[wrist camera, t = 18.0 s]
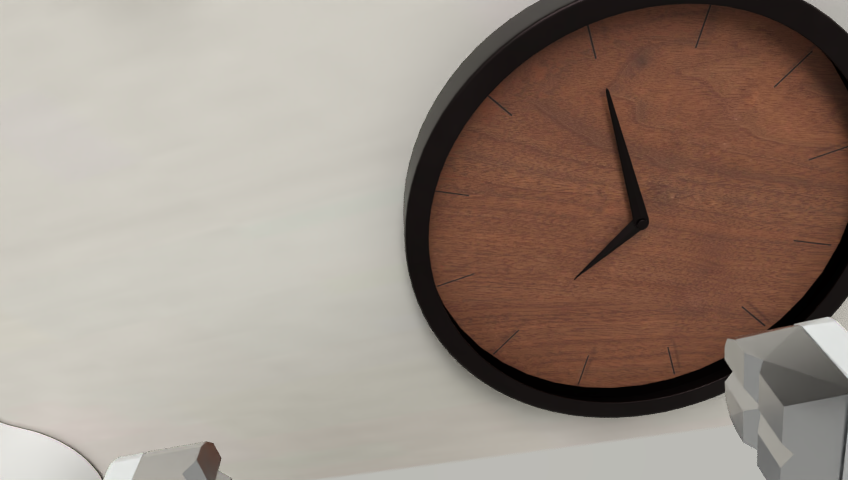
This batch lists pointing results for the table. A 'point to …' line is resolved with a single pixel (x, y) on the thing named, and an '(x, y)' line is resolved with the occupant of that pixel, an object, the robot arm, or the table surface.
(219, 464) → the robot arm
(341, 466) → the table surface
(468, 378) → the table surface
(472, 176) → the wall clock
